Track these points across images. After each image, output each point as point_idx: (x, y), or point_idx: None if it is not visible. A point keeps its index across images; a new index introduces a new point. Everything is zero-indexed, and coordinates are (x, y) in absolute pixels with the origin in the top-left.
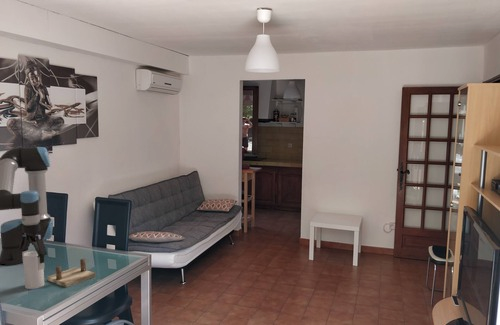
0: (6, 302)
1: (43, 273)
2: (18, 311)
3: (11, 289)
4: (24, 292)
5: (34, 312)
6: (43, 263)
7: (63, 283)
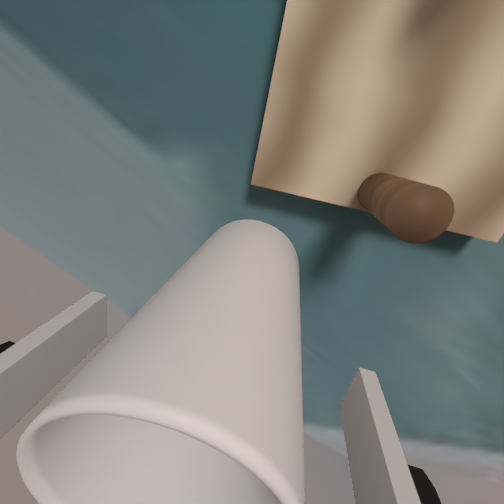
0: None
1: (288, 273)
2: None
3: None
4: None
5: (482, 466)
6: (390, 436)
7: (454, 230)
